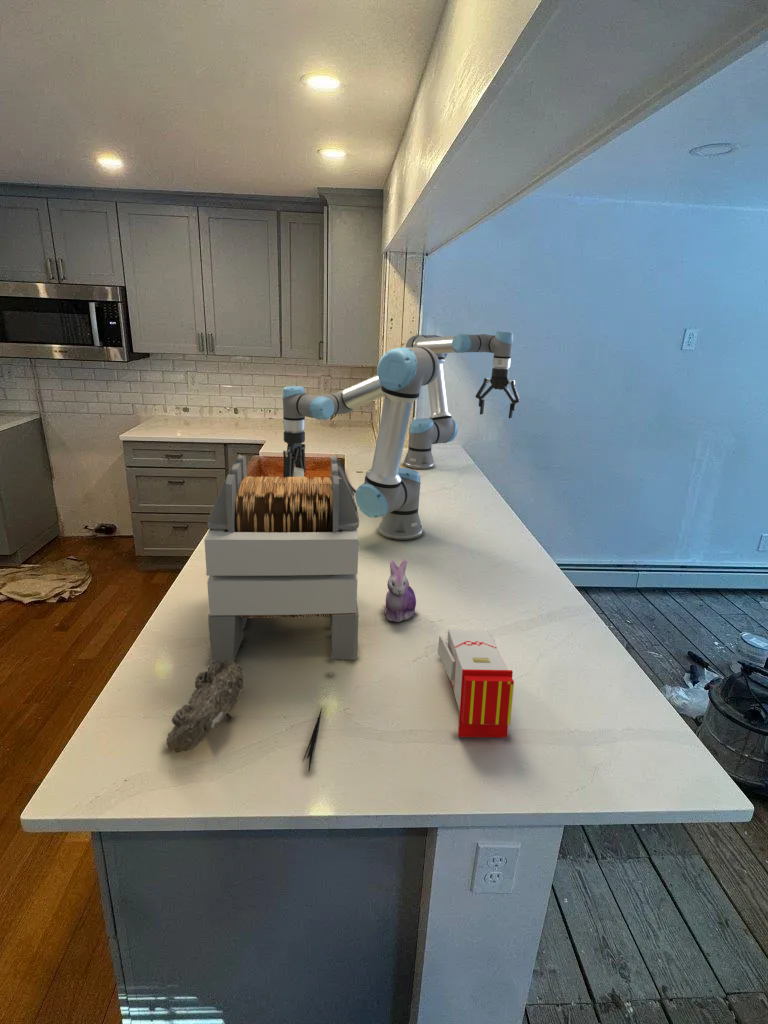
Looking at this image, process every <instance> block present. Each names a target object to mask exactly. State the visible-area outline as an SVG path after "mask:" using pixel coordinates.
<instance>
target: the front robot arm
mask: <svg viewBox="0 0 768 1024" xmlns="http://www.w3.org/2000/svg"><path fill="white" fill-rule="evenodd" d="M439 368H440V365H439V360H438V357H437V356H436V354H435V353H434V352H433V351H432V350H430V349H428V348H425V347H408V348H406V347H404V346H399V347H396V348H393V349H390V350H388V351H386V352H385V353H384V354H383V355H382V356H381V358H380V359H379V361H378V364H377V368H376V374H375V375H373V376H371V377H369V378H366V379H365V380H362V381H360V382H357V383H355V384H353V385H351V386H348V387H346V388H344V389H342V390H340V391H336V392H332V393H325V394H317V395H314V394H312V395H311V394H307V393H306V389H305V387H303V386H300V385H287V386H285V387H283V389H282V416H283V418H282V419H283V420H282V424H283V430H284V431H283V442H284V443H286V444H287V447H286V450H283V451H282V455H283V467H282V468H283V471H282V476H283V477H284V479H285V478H287V477H293V474H294V467H298V468H302V469H304V474H306V468H307V466H306V465H307V464H306V443H305V441H306V432H305V430H306V418H311V419H315V420H317V421H318V420H319V421H321V420H323V421H326V420H329V419H331V418H332V417H333V416H337V415H345V414H347V413H350V412H352V411H354V410H355V409H357V408H359V407H362V406H364V405H367V404H369V403H371V402H374V401H376V400H379V399H382V398H384V399H383V404H382V411H381V415H380V421H379V426H378V432H377V437H376V443H375V449H374V453H373V459H372V464H371V468H370V469H368V470H367V471H365V477H364V482H363V483H361V485H359V486H358V487H357V488H356V489H355V488H354V487H353V486H352V484H351V483H350V481H349V479H348V478H347V480H348V482H349V484H350V486H351V488H352V490H353V493H354V496H355V502H356V506H357V508H359V511H360V512H361V513H362V514H363V515H365V516H366V517H368V518H370V519H371V518H372V519H378V518H381V517H382V519H381V522H379V525H378V533H379V534H380V535H381V536H382V537H385V538H387V539H389V540H395V541H410V540H415V539H418V538H420V537H421V536H422V535H423V525H422V524H421V518H420V515H419V507H420V506H419V505H420V496H421V495H420V494H421V493H420V492H421V482H422V481H421V474H420V472H419V471H417V470H416V469H412V468H407V467H400V465H401V461H402V456H403V451H404V446H405V441H406V436H407V431H408V426H409V422H410V416H411V412H412V407H413V403H414V402H415V401H416V400H418V399H419V398H420V395H421V389H422V387H425V386H428V384H429V383H431V382H432V381H433V380H434V379H435V378H436V377H437V375H438V372H439ZM338 460H339V462H340V464H341V467H342V469H343V471H344V473H345V475H346V476H347V474H346V470H345V467H344V464H343V462H342V461H341V459H338ZM283 477H282V478H283Z"/></svg>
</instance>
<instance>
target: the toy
mask: <svg viewBox="0 0 768 1024" xmlns="http://www.w3.org/2000/svg"><path fill="white" fill-rule="evenodd" d="M446 640H447V643H446V641H445V639H444V636H443V635H442V634H439V637H438V646H437V656H438V657H439V659H440V661H441V663H442V666H443V668H444V670H445V672H446V674H447V677H448V679H449V681H450V684H451V687H452V690H453V693H454V697H455V701H456V705H457V708H458V711H459V714H458V715H459V716H458V730H457V731H458V732H457V737H458V738H508V731H509V726H510V725H511V717H512V707H513V697H514V696H513V695H514V684H515V680H514V679H513V673H514V671H513V670H512V669H508V667H507V665H506V662H505V661H504V659H503V658H502V655H501V653H500V651H499V649H498V647H497V643H496V639H495V637H494V635H493V634H491V632H490V631H489V629H467V628H466V629H465V628H463V629H461V628H460V629H459V628H448V630H447V639H446Z"/></svg>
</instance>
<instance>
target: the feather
mask: <svg viewBox="0 0 768 1024" xmlns="http://www.w3.org/2000/svg"><path fill="white" fill-rule="evenodd" d="M329 675H330V676H331V675H332V674H331V673H330V674H329ZM322 710H323V707H321V708H320V710H319V713H318V716H317V719H316V723H315V725H314V728H313V731H312V733H311V737H310V739H309V742H308V745H307V748H306V751H305V754H304V757H303V760H302V763H301V767H302V765H303V763H304V761H305V758H308V759H309V760H308V762H307V763H308V764H307V766H308V771H310V770H311V766H312V765H311V764H312V760H313V757H315V756H314V755H315V751H316V749H315V746H317V739H318V733H319V729H320V722H321V717H322V712H323V711H322ZM313 754H314V755H313ZM306 755H307V757H306Z"/></svg>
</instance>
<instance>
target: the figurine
mask: <svg viewBox="0 0 768 1024" xmlns="http://www.w3.org/2000/svg"><path fill="white" fill-rule="evenodd" d="M407 567H408V559H406V558H404V559H403V560H402V561H401V563H400V565H399V566H398V565H397V563H396V562H395V561H394V560H393V559H391V560H390V561H389V570H390V576H389V578H388V579H387V589H388V591H387V592H386V594H385V595H386V596H385V607H384V615H385V616H386V620H387V621H391V622H395V623H400V622H402V621H406V620H409V619H410V618H411V617H413V616H414V615H415V610H416V606H417V597H416V593H415V591H414V590H413V587H411V586H410V582H409V579H408V577H407V574H406V571H407Z"/></svg>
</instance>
